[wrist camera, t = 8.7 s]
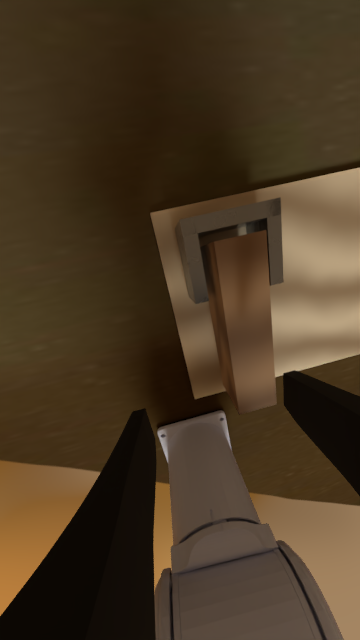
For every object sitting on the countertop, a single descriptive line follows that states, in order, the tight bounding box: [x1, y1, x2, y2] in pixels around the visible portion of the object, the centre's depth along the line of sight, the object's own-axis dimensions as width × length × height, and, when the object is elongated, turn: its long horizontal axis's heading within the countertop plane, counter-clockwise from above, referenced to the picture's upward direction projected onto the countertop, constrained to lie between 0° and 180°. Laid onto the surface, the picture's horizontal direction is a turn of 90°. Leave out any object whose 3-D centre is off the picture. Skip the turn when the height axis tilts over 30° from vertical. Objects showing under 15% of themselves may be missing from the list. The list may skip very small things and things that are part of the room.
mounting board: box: [150, 168, 360, 399], centre depth 18 cm, size 18×21×1 cm
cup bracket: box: [175, 197, 284, 304], centre depth 14 cm, size 6×7×3 cm
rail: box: [200, 230, 277, 415], centre depth 15 cm, size 14×3×4 cm, turn 13°
